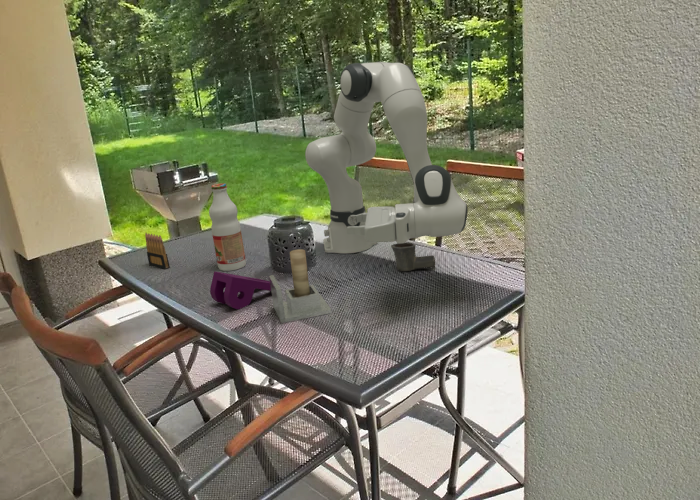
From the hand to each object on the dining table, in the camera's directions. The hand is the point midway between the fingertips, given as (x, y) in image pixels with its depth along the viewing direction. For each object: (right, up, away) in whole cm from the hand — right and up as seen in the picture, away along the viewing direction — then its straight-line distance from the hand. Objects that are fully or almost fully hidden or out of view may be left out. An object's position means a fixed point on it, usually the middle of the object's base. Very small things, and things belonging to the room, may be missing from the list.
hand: (348, 224), depth 152 cm
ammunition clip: (-66, -12, +58) cm, 89 cm away
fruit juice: (-39, -12, +49) cm, 63 cm away
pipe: (+20, -13, +28) cm, 36 cm away
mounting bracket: (-28, -21, +18) cm, 39 cm away
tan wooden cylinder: (-12, -21, +5) cm, 25 cm away
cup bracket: (-12, -22, +6) cm, 26 cm away
